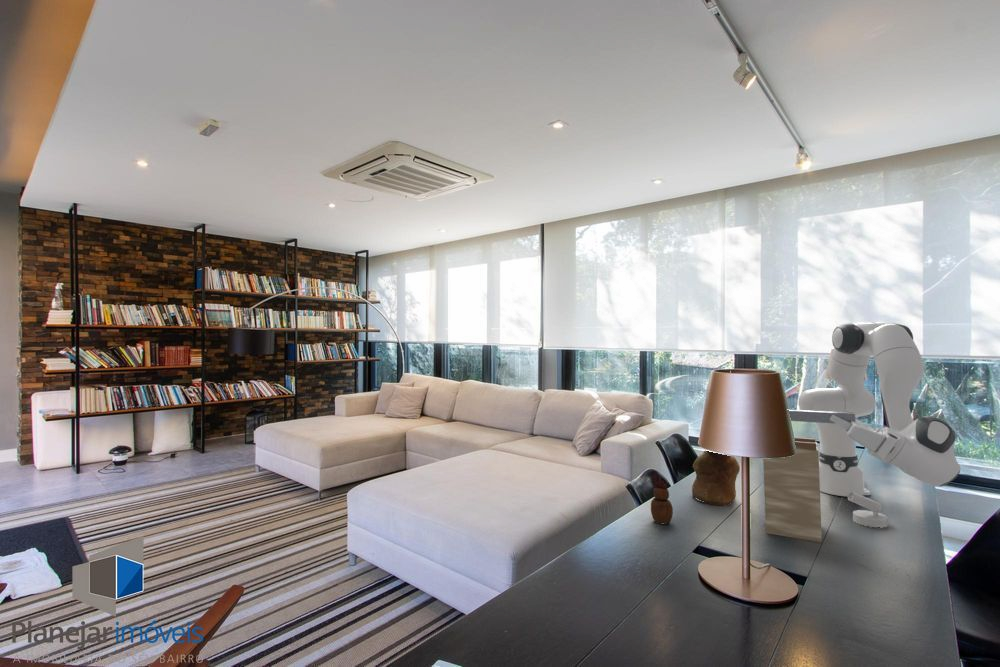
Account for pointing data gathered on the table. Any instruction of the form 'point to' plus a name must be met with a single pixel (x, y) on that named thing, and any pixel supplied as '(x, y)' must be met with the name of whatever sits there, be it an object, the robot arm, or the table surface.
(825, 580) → the table surface
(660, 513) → the wooden figurine
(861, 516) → the wall hook
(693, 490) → the ceramic vessel
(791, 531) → the stand
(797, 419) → the bracket
